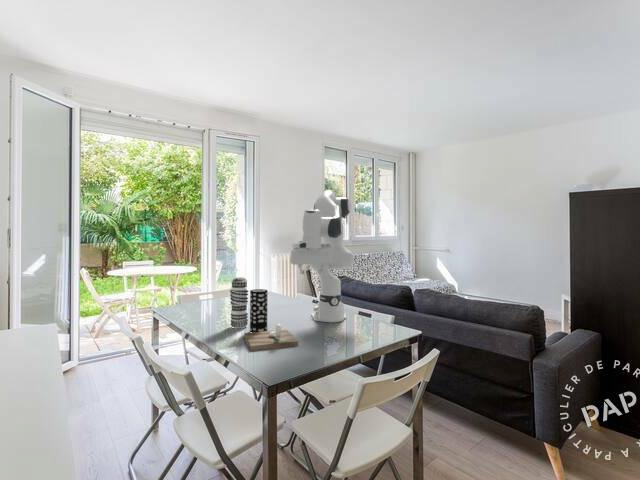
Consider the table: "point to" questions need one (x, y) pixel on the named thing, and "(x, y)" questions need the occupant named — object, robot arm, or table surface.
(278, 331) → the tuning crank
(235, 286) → the decorative candle
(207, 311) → the table surface
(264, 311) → the spotted tube
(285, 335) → the dial board
